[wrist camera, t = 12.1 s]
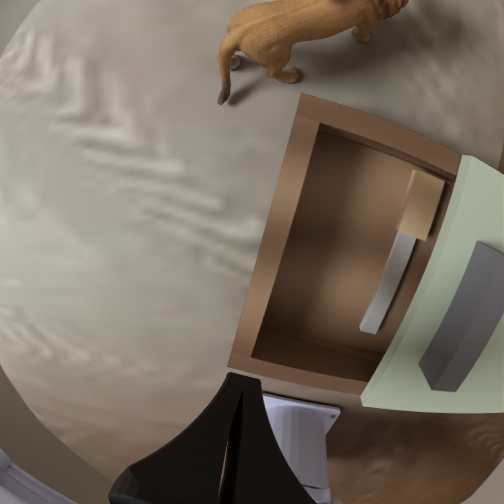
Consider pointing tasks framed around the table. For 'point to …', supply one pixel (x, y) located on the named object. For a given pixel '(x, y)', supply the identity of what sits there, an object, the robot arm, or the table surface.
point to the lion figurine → (294, 31)
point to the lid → (454, 311)
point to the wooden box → (342, 247)
